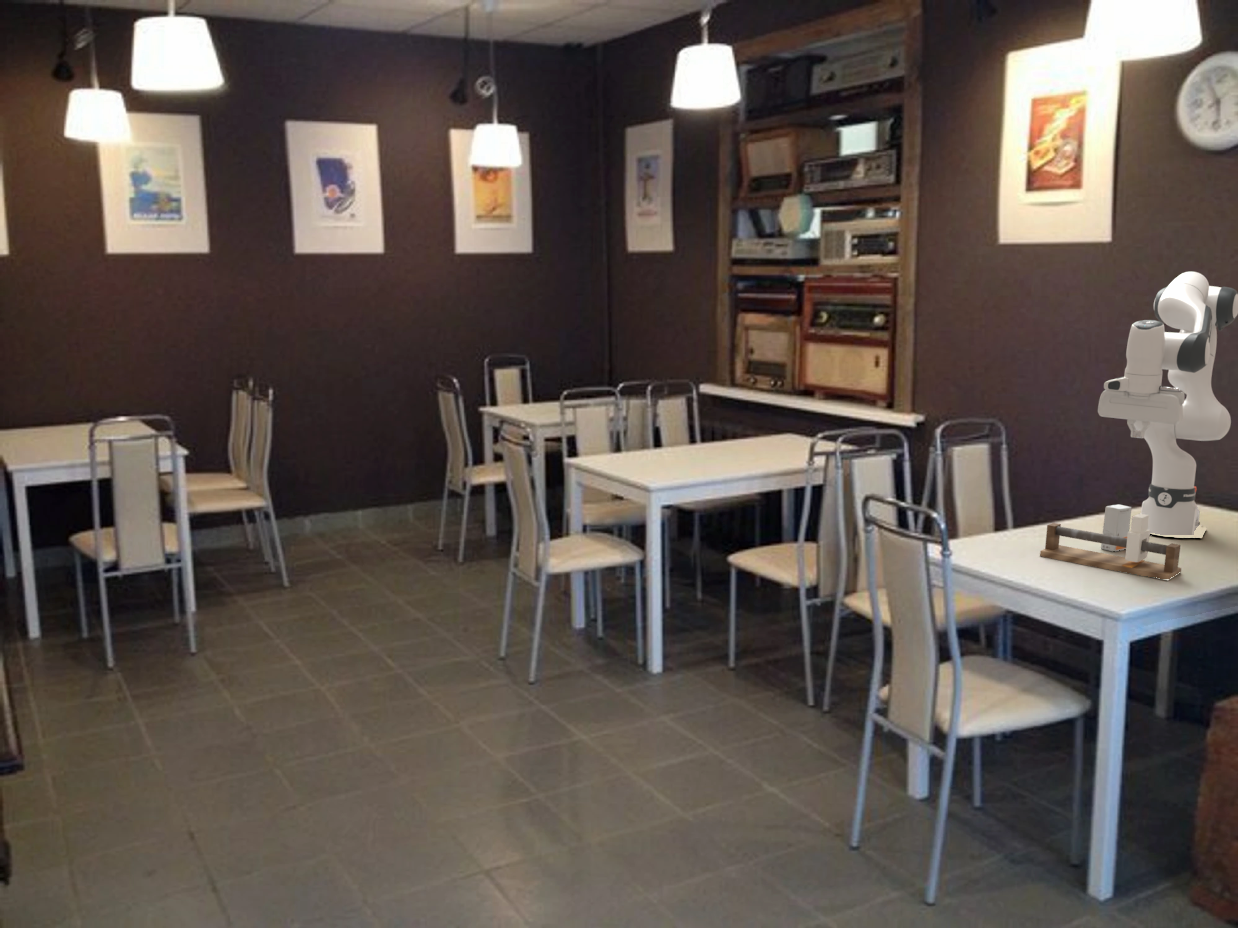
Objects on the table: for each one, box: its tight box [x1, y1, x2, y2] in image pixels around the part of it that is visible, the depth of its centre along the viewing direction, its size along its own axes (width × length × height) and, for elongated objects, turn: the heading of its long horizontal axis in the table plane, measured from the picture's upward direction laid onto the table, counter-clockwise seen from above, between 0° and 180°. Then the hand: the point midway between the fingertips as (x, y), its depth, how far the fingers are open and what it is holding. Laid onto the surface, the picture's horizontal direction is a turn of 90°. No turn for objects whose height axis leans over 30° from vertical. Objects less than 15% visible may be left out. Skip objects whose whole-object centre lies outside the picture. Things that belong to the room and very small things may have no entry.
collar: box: [1124, 513, 1151, 562], centre depth 285 cm, size 3×7×11 cm, turn 137°
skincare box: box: [1100, 504, 1133, 552], centre depth 306 cm, size 6×4×12 cm
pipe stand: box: [1039, 522, 1182, 579], centre depth 290 cm, size 32×10×8 cm, turn 47°
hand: (1137, 437), depth 291 cm, fingers closed
